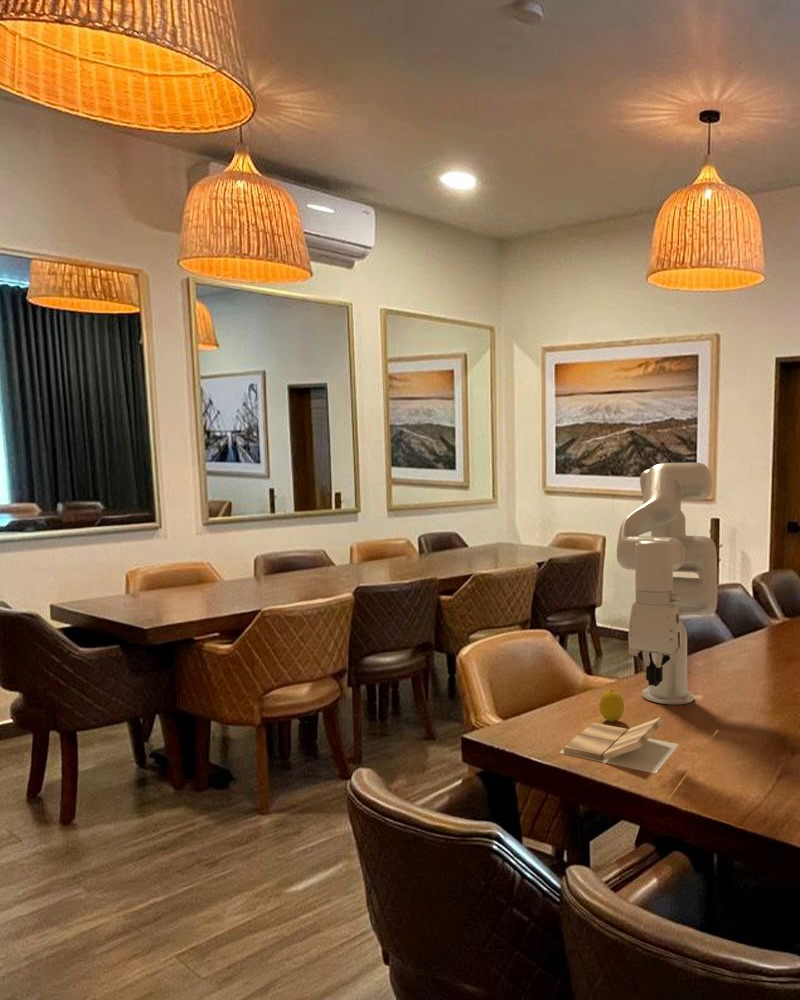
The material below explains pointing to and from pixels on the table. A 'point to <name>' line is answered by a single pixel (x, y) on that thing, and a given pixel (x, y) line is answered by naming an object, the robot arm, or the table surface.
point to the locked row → (594, 741)
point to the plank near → (627, 744)
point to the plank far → (644, 727)
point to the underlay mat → (642, 756)
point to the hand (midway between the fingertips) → (654, 684)
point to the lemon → (611, 705)
